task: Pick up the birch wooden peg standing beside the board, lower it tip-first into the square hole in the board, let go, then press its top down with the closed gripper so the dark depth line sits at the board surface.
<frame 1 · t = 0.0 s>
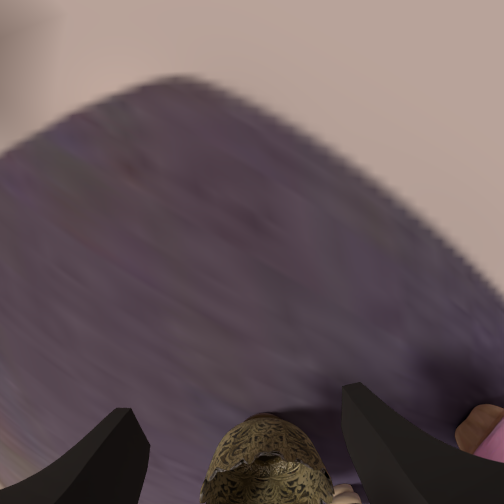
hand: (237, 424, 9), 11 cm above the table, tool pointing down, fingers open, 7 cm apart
cupcake: (470, 420, 21), on the table
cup: (263, 426, 20), on the table
peg: (339, 491, 21), on the table
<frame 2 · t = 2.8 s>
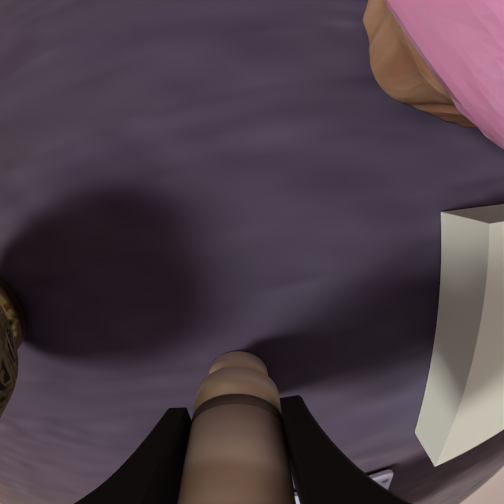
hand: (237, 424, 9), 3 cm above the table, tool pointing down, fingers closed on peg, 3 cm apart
cupcake: (410, 62, 9), on the table
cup: (8, 308, 11), on the table
peg: (238, 375, 12), on the table, touching gripper
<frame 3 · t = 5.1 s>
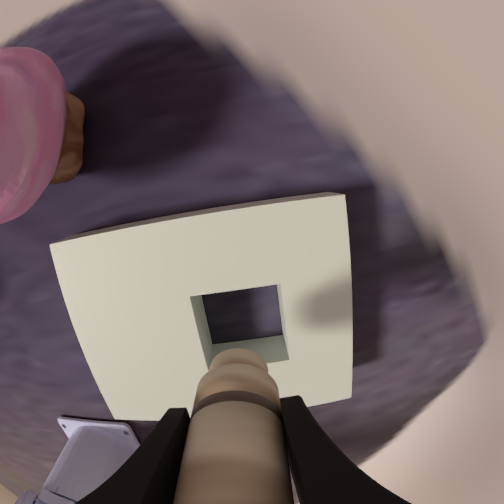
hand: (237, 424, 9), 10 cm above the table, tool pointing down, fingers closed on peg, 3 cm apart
cupcake: (59, 142, 16), on the table
peg: (238, 372, 12), point 7 cm above the table, touching gripper
board: (209, 312, 19), on the table
when the fingers open (4 cm above the table, at t = 7.3 s): peg drops 1 cm, resting in board.
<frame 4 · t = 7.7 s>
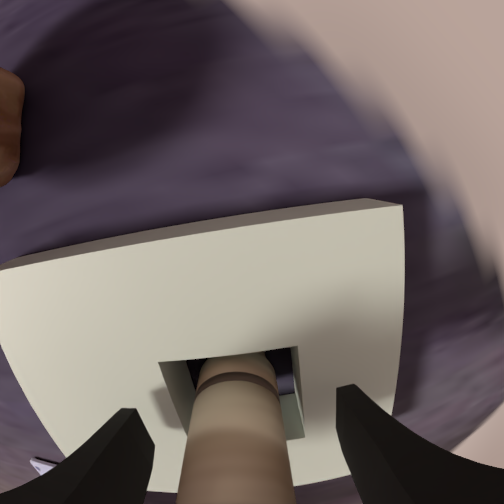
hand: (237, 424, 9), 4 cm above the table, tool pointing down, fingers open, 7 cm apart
peg: (237, 359, 13), resting in board
board: (194, 366, 13), on the table
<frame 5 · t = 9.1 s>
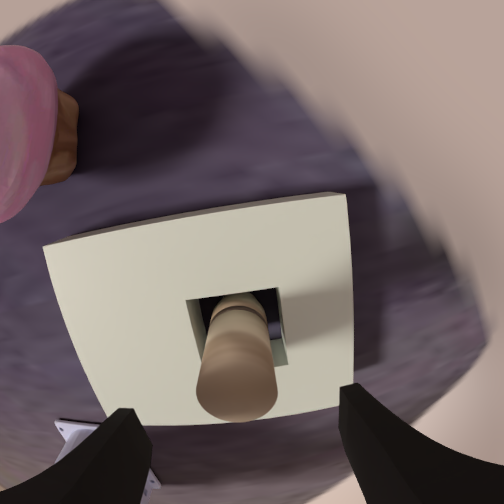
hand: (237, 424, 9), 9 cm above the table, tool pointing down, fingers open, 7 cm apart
cupcake: (53, 142, 15), on the table
peg: (239, 308, 18), resting in board
board: (207, 315, 18), on the table
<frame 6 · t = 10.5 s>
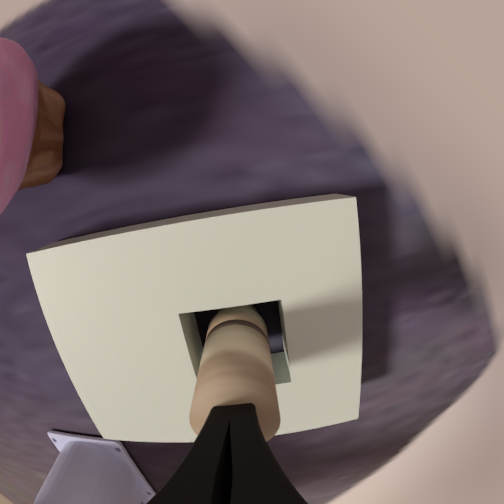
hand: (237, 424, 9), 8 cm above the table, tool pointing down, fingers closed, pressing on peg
cupcake: (39, 141, 14), on the table
peg: (237, 320, 17), resting in board, touching gripper
board: (203, 327, 17), on the table
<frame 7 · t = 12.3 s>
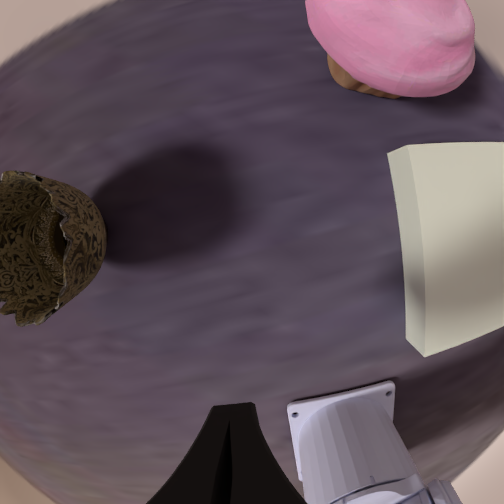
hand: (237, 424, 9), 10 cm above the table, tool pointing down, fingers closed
cupcake: (359, 66, 16), on the table
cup: (91, 233, 19), on the table
board: (488, 232, 17), on the table
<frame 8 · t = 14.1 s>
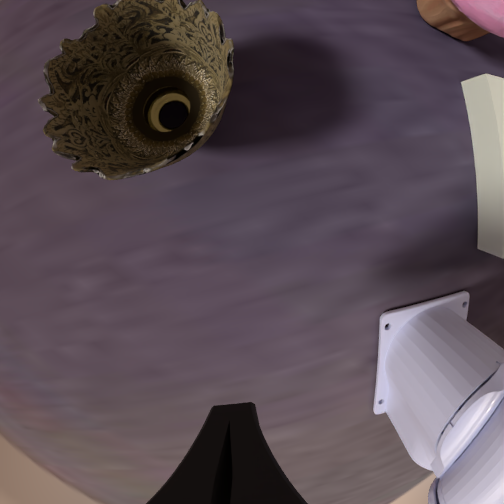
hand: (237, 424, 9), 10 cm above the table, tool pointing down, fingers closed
cupcake: (434, 12, 14), on the table
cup: (174, 115, 16), on the table
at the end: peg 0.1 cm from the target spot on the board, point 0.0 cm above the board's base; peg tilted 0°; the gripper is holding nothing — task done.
